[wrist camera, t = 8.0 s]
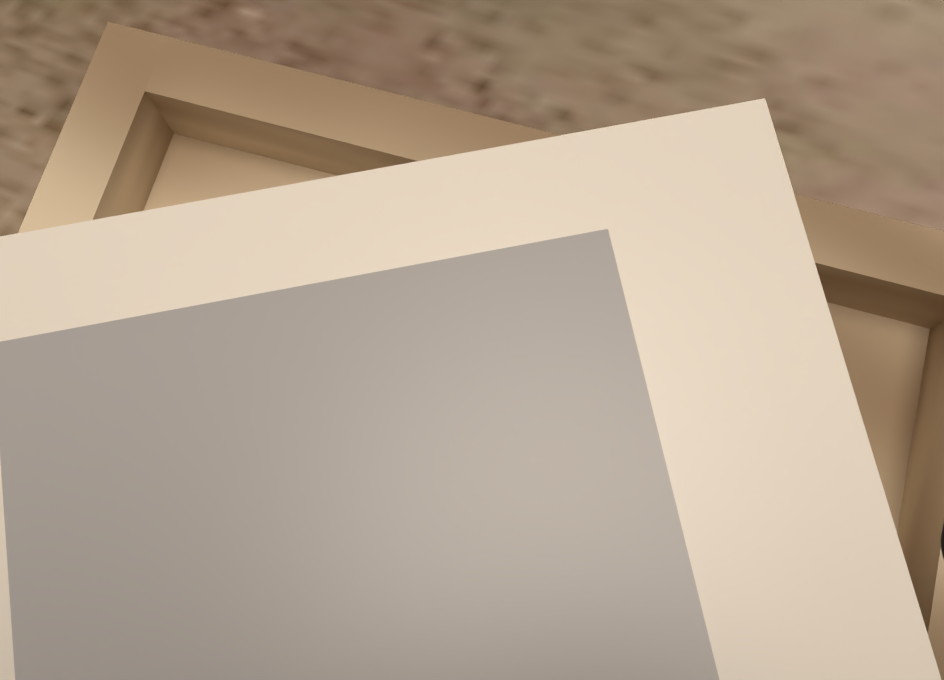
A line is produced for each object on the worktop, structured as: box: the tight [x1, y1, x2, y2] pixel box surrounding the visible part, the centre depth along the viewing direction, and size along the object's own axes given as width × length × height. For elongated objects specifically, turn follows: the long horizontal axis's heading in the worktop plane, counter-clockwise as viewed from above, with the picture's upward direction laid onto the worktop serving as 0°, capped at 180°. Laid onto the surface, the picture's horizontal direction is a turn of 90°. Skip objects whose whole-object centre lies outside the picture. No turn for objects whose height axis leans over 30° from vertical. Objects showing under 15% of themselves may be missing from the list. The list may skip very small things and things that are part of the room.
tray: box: [18, 22, 944, 680], centre depth 16 cm, size 16×18×3 cm
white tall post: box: [0, 99, 941, 680], centre depth 10 cm, size 4×5×14 cm
